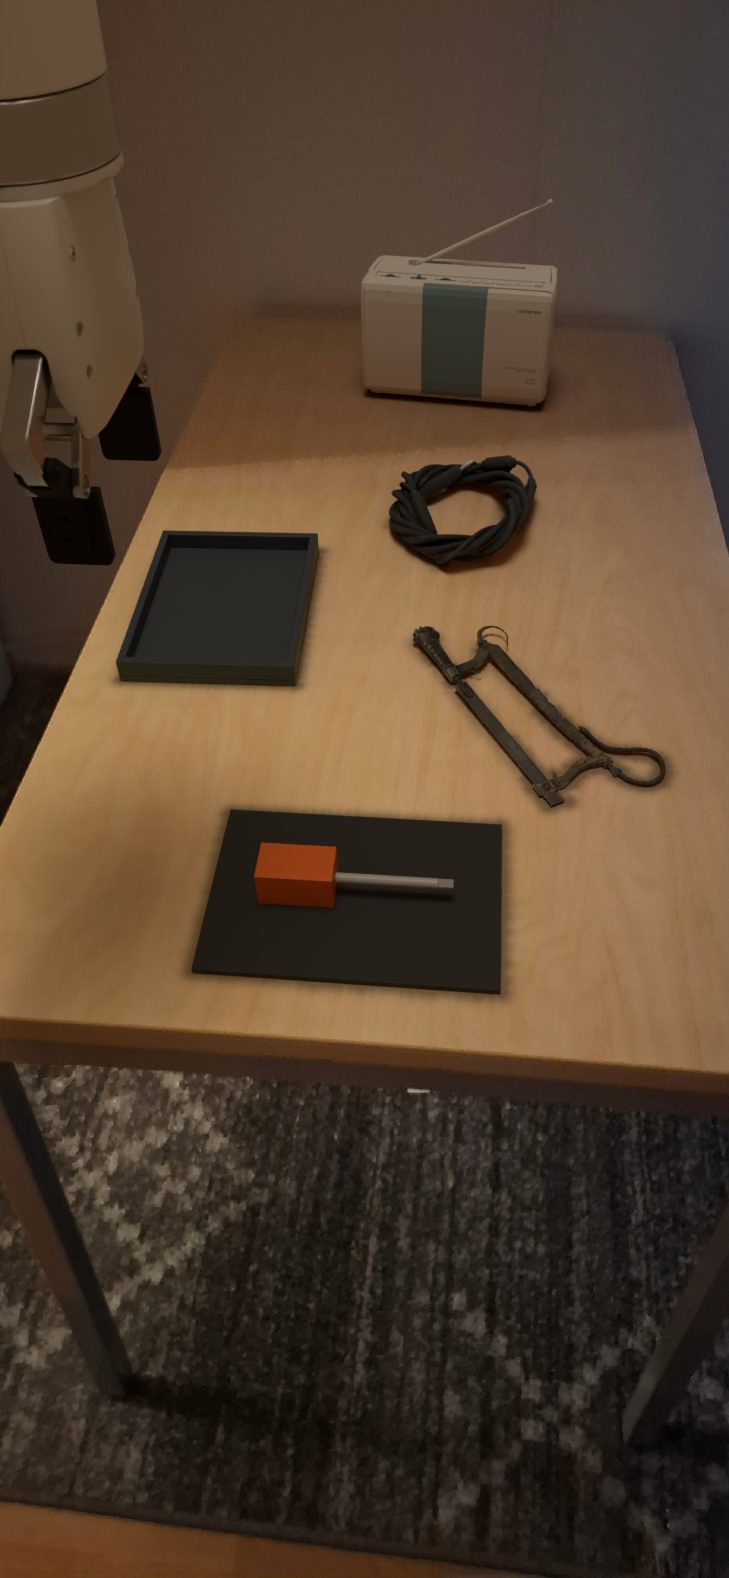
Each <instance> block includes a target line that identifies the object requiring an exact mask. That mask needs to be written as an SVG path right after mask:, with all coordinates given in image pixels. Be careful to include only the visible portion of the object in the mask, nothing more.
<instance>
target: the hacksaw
mask: <svg viewBox="0 0 729 1578" xmlns="http://www.w3.org/2000/svg"><path fill="white" fill-rule="evenodd" d="M493 628H494V629H497V630H500V631H501V632H503V633H504V634H505V638H506V646H508V645H509V636H508V633H506V631H505V630H504V629H502V628H501V627H500V626H496V625H486V626H482V627H481V628H480V629H479V630H478V631H477V633H476V638H477V641H478V642H479V646H480V647H479V648H477V650H476V654H474V657H473V658H471V659H470V660H467V661H464V662H462V663H460V664H455V663H453V661H452V659H451V658H450V656H449V654H448V653H447V652H446V651H445V649H444V648H443V646H442V645H441V643H440V638H441V633H440V632H439V631H437V630H436V629H435V627H432V626H429V625H426V626H421V625H420V626H418V628H415V629H414V630H413V631H414V632H413V633H412V642H413V643H414V644H416V645H419V646H420V647H421V649H423V650H424V652H425V653H427V655H428V656H429V657H430V659H431V660H432V661H433V662H434V664H436V666H438V668H439V670H440V671H441V672H442V674H443V675H444V676H445V677H446V679H448V681H449V682H450V683H453V684H454V685H453V687H454V688H455V690H456V691H457V692H458V693H459V695H460V696H462V698H463V700H464V701H465V702H466V703H467V704H468V706H469V707H470V708H471V709H472V710H473V712H474V713H475V714H476V715H477V717H478V718H479V719H480V721H481V722H482V723H483V724H484V725H485V727H486V728H487V729H488V730H489V732H491V734H492V735H493V737H494V738H495V739H496V740H497V741H498V742H499V744H500V745H501V746H502V747H503V749H505V751H506V752H507V753H508V754H509V756H510V758H512V759H513V761H514V762H515V763H516V764H517V765H518V767H519V768H520V769H521V771H522V772H524V774H525V775H526V776H527V778H528V779H529V780H530V781H531V783H532V788H533V789H534V791H535V792H536V794H537V795H538V796H539V797H540V798H541V797H543V798H545V800H546V801H547V802H548V803H549V805H550V806H554V805H557V804H561V803H564V802H565V801H566V800H565V798H564V797H563V796H562V795H561V793H560V792H559V790H561V789H564V788H566V787H567V785H569V784H570V783H571V781H572V780H573V779H574V778H575V777H576V776H577V775H578V774H579V773H580V772H582V771H583V770H587V769H589V768H592V769H595V768H598V767H604V769H608V770H610V772H611V774H612V776H614V777H616V776H619V777H620V778H621V779H622V780H624V781H625V782H627V783H630V784H633V785H636V786H645V787H648V786H653V785H655V784H657V783H659V782H661V781H662V779H663V778H664V777H665V775H666V772H667V769H666V764H665V763H666V762H665V760H664V758H663V757H662V756H661V754H659V753H658V752H657V751H656V750H653V749H652V748H648V747H641V746H640V747H639V746H637V747H636V746H635V747H621V746H620V747H616V746H614V747H613V746H610V745H609V746H608V745H606V744H605V743H603V742H601V741H600V740H598V739H597V738H596V737H595V736H594V735H592V734H591V732H590V731H589V730H588V729H587V728H586V727H585V726H580V725H579V726H578V728H577V727H576V726H575V725H574V724H573V723H572V722H571V721H570V720H569V719H568V718H567V717H565V716H562V712H560V711H558V709H557V707H556V706H555V705H553V703H552V702H551V701H549V700H548V698H547V696H546V695H544V693H542V692H541V689H540V688H538V687H536V686H535V684H534V683H533V681H532V680H530V678H529V677H528V676H527V675H526V674H525V673H524V672H523V670H522V669H521V668H520V667H519V666H518V665H517V664H516V663H515V662H514V660H513V659H512V658H511V657H510V656H509V655H508V653H506V651H504V649H503V648H502V647H501V646H500V645H499V644H495V643H491V642H489V641H488V640H487V639H484V637H483V633H484V632H485V631H486V630H488V629H493ZM489 658H490V659H491V660H492V661H493V662H494V663H495V664H496V665H497V666H498V667H499V668H500V669H501V670H502V671H503V672H504V674H505V675H506V676H508V678H510V680H511V681H512V682H513V683H514V684H515V685H516V686H517V687H518V689H519V690H521V692H522V693H523V694H524V695H526V697H527V698H528V699H530V701H531V702H532V703H533V704H534V705H535V707H537V708H538V710H539V711H540V712H542V714H543V715H544V716H545V717H546V718H547V719H548V720H550V722H551V723H553V725H555V726H556V728H557V729H558V730H559V731H561V732H562V734H563V735H564V736H565V737H566V738H567V739H569V740H570V742H573V743H574V744H575V746H576V747H577V748H579V749H581V750H582V751H583V753H584V754H585V755H586V757H582V758H580V759H578V760H576V761H575V762H574V763H573V764H571V765H570V766H569V767H568V768H567V771H566V772H565V773H564V774H563V775H560V776H557V772H555V771H551V773H552V775H553V777H552V778H551V779H548V778H547V777H546V776H545V774H544V773H543V772H542V771H541V770H540V768H539V767H538V766H537V765H536V764H535V762H534V761H533V760H532V759H531V757H530V756H529V755H528V754H527V752H525V750H524V749H523V748H522V747H521V745H520V744H519V743H518V742H517V741H516V740H515V738H514V737H513V736H512V735H511V733H510V732H509V731H508V730H507V729H506V727H505V726H504V725H503V724H502V722H500V720H499V719H498V718H497V717H496V715H495V714H494V713H493V712H492V711H491V710H490V708H489V707H488V706H487V705H486V703H485V702H484V701H483V700H482V698H481V697H480V696H479V695H478V694H477V692H475V690H474V689H473V688H472V687H471V685H470V684H469V683H468V682H467V680H466V681H462V677H463V675H466V674H467V673H470V672H472V673H476V674H478V675H480V674H481V671H476V669H478V668H480V667H481V666H482V665H483V664H485V663H486V662H487V661H488V659H489ZM516 686H515V687H516ZM594 744H595V745H596V746H597V747H596V746H595V745H594ZM598 747H599V748H598ZM600 748H601V749H602V750H603V751H602V750H601V749H600ZM604 751H608V752H613V753H627V754H628V753H630V754H631V753H647V754H650V755H652V756H653V757H654V758H655V759H656V760H657V761H658V762H659V765H660V772H659V774H658V775H657V776H656V777H655V778H653V779H649V780H639V779H636V778H633V777H630V776H628V775H627V774H626V773H623V771H624V770H622V769H621V768H619V767H616V766H615V765H613V763H614V760H613V759H612V758H611V757H610V756H608V754H605V753H604Z"/></svg>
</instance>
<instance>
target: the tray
mask: <svg viewBox="0 0 729 1578" xmlns="http://www.w3.org/2000/svg"><path fill="white" fill-rule="evenodd" d="M319 545H320V544H319V533H317V532H315V533H314V532H270V531H267V532H266V531H265V532H263V531H220V530H219V531H217V530H214V531H213V530H211V531H209V530H170V529H169V530H168V529H167V530H164V529H163V530H162V532H161V535H160V538H159V540H158V543H157V546H156V548H155V552H154V554H153V557H152V560H151V563H150V566H149V568H148V571H147V574H146V576H145V579H144V582H143V584H142V587H141V590H140V594H139V596H138V598H137V602H136V603H135V607H134V610H133V613H132V616H131V618H130V621H129V624H128V626H127V629H126V632H125V635H124V638H123V640H122V643H121V646H120V649H119V652H118V654H117V656H116V660H115V664H116V669H117V672H118V676H119V679H120V681H121V682H122V681H123V682H127V681H128V682H153V683H156V682H158V683H159V682H160V683H191V684H225V685H227V684H229V685H254V686H255V685H257V686H258V685H260V686H293V687H294V686H296V685H297V679H298V674H299V669H300V663H301V657H302V651H303V644H304V639H305V633H306V628H307V622H308V617H309V610H310V606H311V600H312V593H313V588H314V582H315V576H316V571H317V566H318V561H319V555H320V546H319Z"/></svg>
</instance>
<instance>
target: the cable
mask: <svg viewBox="0 0 729 1578" xmlns="http://www.w3.org/2000/svg"><path fill="white" fill-rule="evenodd" d="M517 466H520V467H522V468H523V469H524V470H525V472H526V474H527V477H528V479H527V480H526V484H525V485H524V483H523V481H522V480H521V478H520V477H518V476H517V475H515V474H514V473H512V472H511V471H513V469H514V468H516V467H517ZM400 476H401V477H402V478H403V479H404V481H400V482H399V484H398V485H399V488H400V489H393V490H392V491H391V496H392V497H394V498H395V499H397V500H395V501H394V502H393V503H392V504H391V505H390V506H389V509H388V515H389V520H388V524H389V526H390V528H391V529H392V530H393V531H395V532H397V533H399V534H401V538H402V541H403V542H405V543H407V544H410V545H411V547H412V548H413V549H414V550H415V551H417V552H419V553H422V554H423V555H425V556H426V557H427V558H429V559H433V560H434V561H435V563H436V564H438V565H443V564H445V563H447V562H449V561H450V560H452V561H455V562H461V563H475V562H480V561H483V560H486V559H488V558H490V557H492V556H494V555H495V554H497V553H498V552H500V551H502V549H503V548H505V547H506V546H507V545H508V544H509V543H510V541H511V540H512V539H513V538H514V536H515V535H516V534H517V533H518V532H519V530H520V529H522V528H523V527H524V525H525V523H526V522H527V520H528V518H529V515H530V511H531V509H532V505H533V501H534V499H535V495H536V492H537V488H538V485H537V482H536V479H535V478H534V475H533V472H532V471H531V468H530V467H529V466H528V465H527V464H526V463H525V462H523V461H521V460H517V459H516V457H512V455H510V454H507V455H497V456H489V457H486V458H485V459H484V460H481V461H480V462H477V461H476V459H474V458H472V459H469V460H468V461H466V462H465V463H464V464H459V463H451V464H450V463H449V464H442V463H441V464H439V463H432V464H427V465H424V466H423V467H421V468H420V469H418V470H415V471H412V472H411V473H408V472H407V471H404V470H403V471H402V472H401V474H400ZM469 483H477V484H479V485H481V486H484V487H488V488H499V489H500V490H502V491H503V492H504V505H503V507H504V512H505V516H504V517H502V519H500V520H499V521H498V522H497V523H496V524H491V525H486V526H485V527H482V528H480V529H478V530H477V531H476V532H474V533H473V534H472V535H470V534H458V533H457V534H456V533H440V534H439V533H438V530H437V528H436V524H435V523H434V520H433V518H432V515H431V513H430V511H429V508H428V505H427V502H426V500H428V499H430V498H432V497H435V496H436V495H439V494H440V493H441V492H442V491H443V490H444V489H446V488H448V487H450V486H459V485H464V484H469Z"/></svg>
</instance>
